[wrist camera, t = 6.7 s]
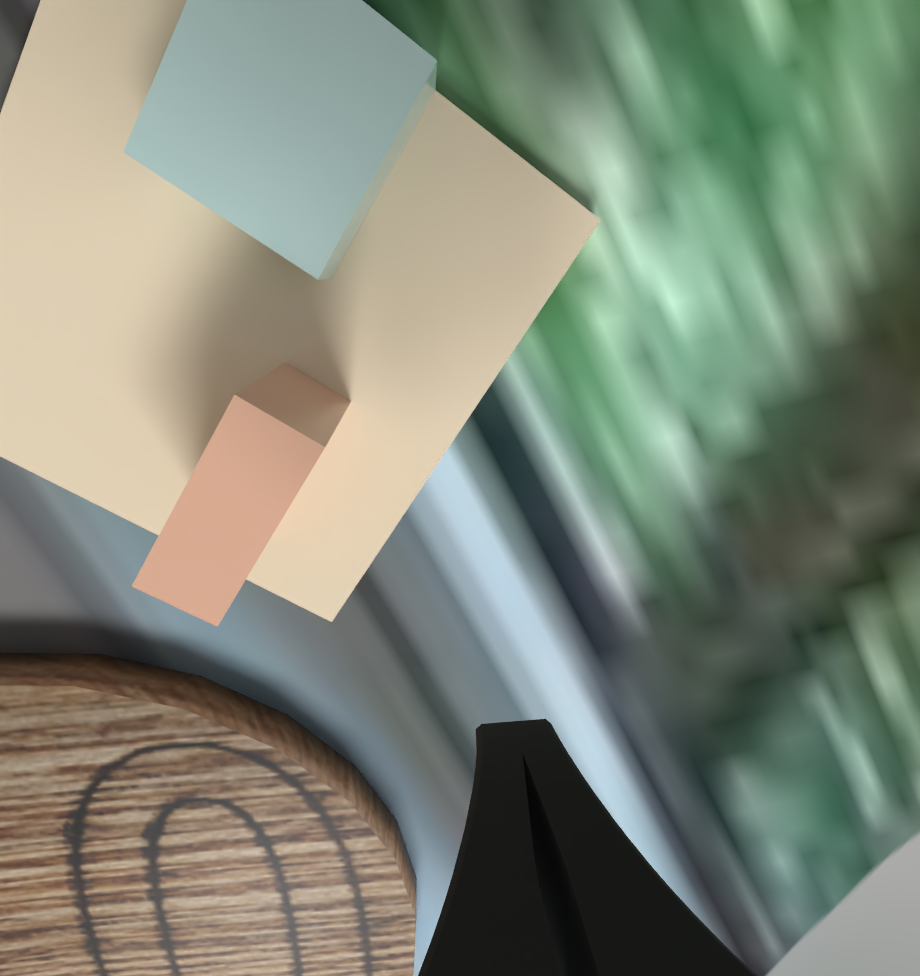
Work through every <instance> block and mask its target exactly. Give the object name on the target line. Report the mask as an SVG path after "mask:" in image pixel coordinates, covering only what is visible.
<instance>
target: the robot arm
mask: <svg viewBox="0 0 920 976" xmlns="http://www.w3.org/2000/svg"><path fill="white" fill-rule="evenodd" d="M476 746H477V757H476V768H475V776H474V783H473V790H472V795H471V800H470V805H469V810H468V816H467V821H466V825H465V830H464V834H463V838H462V842H461V845H460V849H459V853H458V857H457V861H456V864H455V868H454V872H453V876H452V879H451V882H450V886H449V889H448V892H447V896H446V899H445V902H444V905H443V908H442V911H441V914H440V917H439V920H438V923H437V926H436V929H435V932H434V935H433V937H432V940H431V943H430V946H429V948H428V951H427V954H426V956H425V959H424V962H423V964H422V967H421V970H420V972H419V975H418V976H757V975H756V974H755V973H753V972H752V971H751V970H750V969H749V968H748V967H747V966H746V965H745V964H744V963H743V962H742V961H741V960H740V959H738V958H737V957H736V956H735V955H734V954H733V953H732V952H731V951H730V950H729V949H728V948H727V947H726V946H725V945H724V944H723V943H722V942H721V941H720V940H719V939H718V938H717V937H716V936H715V935H714V934H713V933H712V932H711V931H710V930H709V929H708V928H707V927H706V926H705V925H704V924H703V923H702V922H701V921H700V920H699V918H698V917H697V916H696V915H695V914H694V913H693V912H692V911H691V910H690V909H689V908H688V907H687V906H686V905H685V903H684V902H683V901H682V900H681V899H680V898H679V897H678V896H677V895H676V894H675V893H674V892H673V890H672V889H671V888H670V887H669V886H668V885H667V884H666V883H665V881H664V880H663V879H662V878H661V877H660V876H659V875H658V873H657V872H656V871H655V870H654V869H653V868H652V866H651V865H650V864H649V863H648V862H647V860H646V859H645V858H644V857H643V855H642V854H641V853H640V852H639V851H638V849H637V848H636V847H635V846H634V844H633V843H632V842H631V841H630V840H629V838H628V837H627V836H626V834H625V833H624V832H623V831H622V829H621V828H620V827H619V825H618V824H617V823H616V822H615V820H614V819H613V818H612V816H611V815H610V813H609V812H608V811H607V809H606V808H605V807H604V805H603V804H602V802H601V801H600V800H599V798H598V797H597V796H596V794H595V793H594V792H593V790H592V789H591V787H590V786H589V784H588V783H587V781H586V780H585V779H584V777H583V776H582V774H581V773H580V771H579V769H578V768H577V766H576V765H575V763H574V762H573V760H572V759H571V757H570V756H569V754H568V752H567V751H566V749H565V747H564V746H563V744H562V742H561V741H560V739H559V737H558V735H557V734H556V732H555V730H554V728H553V726H552V724H551V723H550V722H548V721H547V720H546V719H539V720H527V721H514V722H501V723H489V724H481V725H480V726H479V727H478V728H477V729H476Z"/></svg>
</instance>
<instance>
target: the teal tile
mask: <svg viewBox="0 0 920 976" xmlns="http://www.w3.org/2000/svg"><path fill="white" fill-rule="evenodd" d="M436 74H437V60H436V59H435V58H434V57H432V56H431V55H430V54H429V53H428V52H426V51H425V50H424V49H423V48H421V47H420V46H419V45H418V44H416V43H415V42H414V41H413V40H411V39H410V38H409V37H408V36H406V35H405V34H404V33H403V32H401V31H400V30H399V29H398V28H396V27H395V26H394V25H393V24H391V23H390V22H389V21H388V20H386V19H385V18H384V17H383V16H381V15H380V14H379V13H378V12H376V11H375V10H374V9H373V8H371V7H370V6H369V5H368V4H366V3H365V2H364V1H363V0H187V2H186V4H185V6H184V9H183V11H182V14H181V16H180V18H179V21H178V23H177V25H176V28H175V30H174V33H173V35H172V37H171V40H170V42H169V44H168V47H167V49H166V52H165V54H164V56H163V59H162V61H161V63H160V66H159V68H158V71H157V73H156V75H155V78H154V80H153V82H152V85H151V87H150V90H149V92H148V94H147V97H146V99H145V101H144V104H143V106H142V109H141V111H140V113H139V116H138V118H137V120H136V123H135V125H134V128H133V130H132V132H131V135H130V137H129V139H128V142H127V144H126V147H125V149H124V151H123V152H124V153H125V154H127V155H128V156H130V157H131V158H133V159H134V160H136V161H137V162H139V163H140V164H142V165H143V166H145V167H146V168H148V169H150V170H151V171H153V172H154V173H156V174H157V175H159V176H160V177H162V178H163V179H165V180H166V181H168V182H169V183H171V184H172V185H174V186H175V187H177V188H179V189H180V190H182V191H183V192H185V193H186V194H188V195H189V196H191V197H192V198H194V199H195V200H197V201H198V202H200V203H201V204H203V205H204V206H206V207H208V208H209V209H211V210H212V211H214V212H215V213H217V214H218V215H220V216H221V217H223V218H224V219H226V220H227V221H229V222H230V223H232V224H233V225H235V226H237V227H238V228H240V229H241V230H243V231H244V232H246V233H247V234H249V235H250V236H252V237H253V238H255V239H256V240H258V241H259V242H261V243H262V244H264V245H266V246H267V247H269V248H270V249H272V250H273V251H275V252H276V253H278V254H279V255H281V256H282V257H284V258H285V259H287V260H288V261H290V262H291V263H293V264H295V265H296V266H298V267H299V268H301V269H302V270H304V271H305V272H307V273H308V274H310V275H311V276H313V277H314V278H316V279H317V280H320V279H331V278H332V276H333V274H334V272H335V271H336V269H337V267H338V265H339V263H340V262H341V260H342V258H343V256H344V254H345V253H346V251H347V249H348V247H349V245H350V244H351V242H352V240H353V238H354V236H355V235H356V233H357V231H358V229H359V227H360V225H361V224H362V222H363V220H364V218H365V216H366V215H367V213H368V211H369V209H370V207H371V206H372V204H373V202H374V200H375V198H376V197H377V195H378V193H379V191H380V189H381V188H382V186H383V184H384V182H385V180H386V178H387V177H388V175H389V173H390V171H391V169H392V168H393V166H394V164H395V162H396V160H397V159H398V157H399V155H400V153H401V151H402V150H403V148H404V146H405V144H406V142H407V141H408V139H409V137H410V135H411V133H412V131H413V130H414V128H415V126H416V124H417V122H418V121H419V119H420V117H421V115H422V113H423V112H424V110H425V108H426V106H427V104H428V103H429V101H430V99H431V97H432V95H433V94H434V92H435V89H436Z"/></svg>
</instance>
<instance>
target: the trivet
mask: <svg viewBox="0 0 920 976" xmlns="http://www.w3.org/2000/svg"><path fill="white" fill-rule="evenodd" d="M415 930H416V876H415V873H414V870H413V867H412V864H411V861H410V858H409V855H408V852H407V849H406V846H405V843H404V840H403V837H402V834H401V831H400V828H399V825H398V822H397V821H396V819H395V818H394V817H393V815H392V814H391V813H390V812H389V810H388V809H387V808H386V806H385V805H384V804H383V802H382V801H381V800H380V798H379V797H378V796H377V794H376V793H375V792H374V791H373V789H372V788H371V787H370V785H369V784H368V783H367V781H366V780H365V779H364V777H363V776H362V775H361V774H360V772H359V771H358V770H357V768H356V767H355V766H354V765H353V764H352V763H350V762H349V761H348V760H346V759H345V758H344V757H342V756H341V755H340V754H338V753H337V752H336V751H335V750H333V749H332V748H331V747H329V746H328V745H327V744H325V743H324V742H323V741H321V740H320V739H319V738H317V737H316V736H315V735H313V734H312V733H311V732H309V731H308V730H307V729H306V728H304V727H303V726H302V725H300V724H299V723H298V722H296V721H295V720H294V719H292V718H291V717H290V716H288V715H286V714H284V713H282V712H280V711H277V710H275V709H273V708H271V707H268V706H266V705H264V704H262V703H260V702H257V701H255V700H253V699H251V698H248V697H246V696H244V695H242V694H239V693H237V692H235V691H233V690H230V689H228V688H226V687H224V686H222V685H219V684H217V683H215V682H213V681H210V680H208V679H206V678H204V677H201V676H197V675H193V674H188V673H184V672H179V671H174V670H170V669H165V668H161V667H156V666H151V665H147V664H142V663H138V662H133V661H129V660H124V659H119V658H115V657H110V656H106V655H101V654H33V653H0V976H413V972H414V951H415Z"/></svg>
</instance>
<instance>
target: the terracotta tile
mask: <svg viewBox="0 0 920 976" xmlns="http://www.w3.org/2000/svg"><path fill="white" fill-rule="evenodd" d="M350 403H351V401H349V400H347V399H346V398H344V397H342V396H341V395H339V394H338V393H336V392H334V391H333V390H331V389H329V388H328V387H326V386H324V385H323V384H321V383H319V382H318V381H316V380H315V379H313V378H311V377H310V376H308V375H306V374H305V373H303V372H301V371H300V370H298V369H296V368H295V367H293V366H292V365H290V364H288V363H287V362H285V363H283V364H282V365H280V366H279V367H277V368H275V369H274V370H272V371H271V372H269V373H268V374H266V375H264V376H263V377H261V378H260V379H258V380H257V381H255V382H253V383H252V384H250V385H249V386H247V387H246V388H244V389H242V390H241V391H239V392H238V393H236V394H235V395H234V396H233V398H232V400H231V402H230V404H229V406H228V407H227V409H226V411H225V413H224V415H223V417H222V419H221V421H220V422H219V424H218V426H217V428H216V430H215V432H214V434H213V435H212V437H211V439H210V441H209V443H208V445H207V447H206V449H205V450H204V452H203V454H202V456H201V458H200V460H199V462H198V463H197V465H196V467H195V469H194V471H193V473H192V475H191V477H190V478H189V480H188V482H187V484H186V486H185V488H184V490H183V491H182V493H181V495H180V497H179V499H178V501H177V503H176V505H175V506H174V508H173V510H172V512H171V514H170V516H169V518H168V519H167V521H166V523H165V525H164V527H163V529H162V531H161V533H160V534H159V536H158V538H157V540H156V542H155V544H154V546H153V547H152V549H151V551H150V553H149V555H148V557H147V559H146V561H145V562H144V564H143V566H142V568H141V570H140V572H139V574H138V575H137V577H136V579H135V581H134V583H133V585H132V587H134V588H136V589H139V590H141V591H143V592H145V593H147V594H149V595H151V596H153V597H155V598H158V599H160V600H162V601H164V602H166V603H168V604H170V605H172V606H174V607H177V608H179V609H181V610H183V611H185V612H187V613H189V614H191V615H194V616H196V617H198V618H200V619H202V620H204V621H206V622H208V623H210V624H213V625H215V626H218V625H219V623H220V621H221V620H222V618H223V616H224V615H225V613H226V611H227V610H228V608H229V606H230V605H231V603H232V601H233V600H234V598H235V596H236V595H237V593H238V591H239V590H240V588H241V587H242V585H243V583H244V582H245V580H246V578H247V577H248V575H249V573H250V572H251V570H252V568H253V567H254V565H255V563H256V562H257V560H258V558H259V557H260V555H261V553H262V552H263V550H264V548H265V547H266V545H267V543H268V542H269V540H270V538H271V537H272V535H273V533H274V532H275V530H276V528H277V527H278V525H279V523H280V522H281V520H282V518H283V517H284V515H285V513H286V512H287V510H288V508H289V507H290V505H291V503H292V502H293V500H294V498H295V497H296V495H297V493H298V492H299V490H300V488H301V487H302V485H303V483H304V482H305V480H306V478H307V477H308V475H309V473H310V472H311V470H312V468H313V467H314V465H315V463H316V462H317V460H318V458H319V457H320V455H321V453H322V452H323V450H324V449H325V447H326V445H327V443H328V442H329V440H330V438H331V436H332V434H333V433H334V431H335V429H336V427H337V426H338V424H339V422H340V420H341V419H342V417H343V415H344V413H345V411H346V410H347V408H348V406H349V404H350Z"/></svg>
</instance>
